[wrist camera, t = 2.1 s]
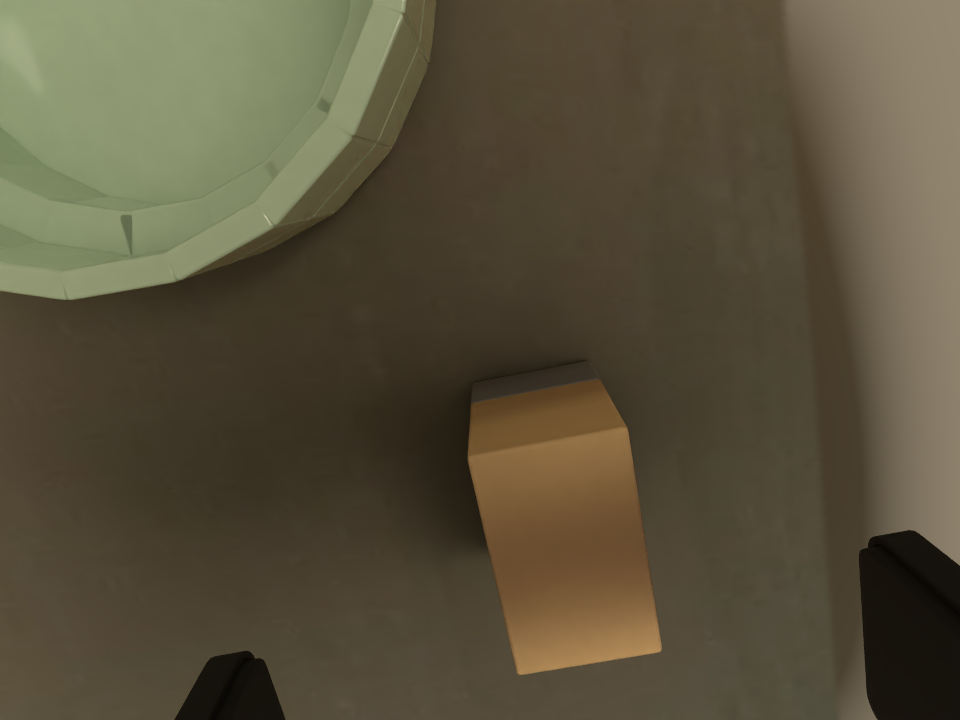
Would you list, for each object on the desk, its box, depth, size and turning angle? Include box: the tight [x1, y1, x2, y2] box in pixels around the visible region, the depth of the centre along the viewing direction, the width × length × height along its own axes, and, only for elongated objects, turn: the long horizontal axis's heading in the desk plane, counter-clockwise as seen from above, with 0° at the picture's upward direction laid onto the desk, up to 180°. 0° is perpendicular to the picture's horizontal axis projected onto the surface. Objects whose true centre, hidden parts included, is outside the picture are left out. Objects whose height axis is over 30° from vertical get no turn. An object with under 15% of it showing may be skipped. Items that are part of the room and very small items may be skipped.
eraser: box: [468, 361, 662, 675], centre depth 15 cm, size 5×3×4 cm, turn 12°
